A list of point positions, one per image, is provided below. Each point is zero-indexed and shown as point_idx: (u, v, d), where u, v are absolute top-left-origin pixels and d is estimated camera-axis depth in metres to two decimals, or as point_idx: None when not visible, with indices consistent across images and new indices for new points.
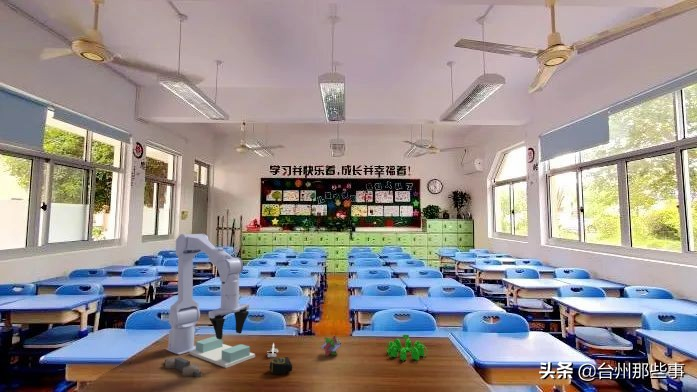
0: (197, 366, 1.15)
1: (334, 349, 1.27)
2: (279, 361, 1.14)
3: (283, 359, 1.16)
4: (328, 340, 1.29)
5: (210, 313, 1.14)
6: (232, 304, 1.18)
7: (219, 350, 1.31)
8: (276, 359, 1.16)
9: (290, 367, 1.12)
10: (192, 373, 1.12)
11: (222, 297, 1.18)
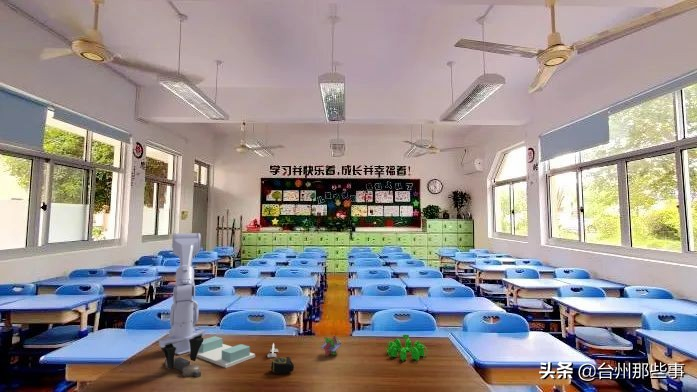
0: (197, 366, 1.15)
1: (334, 349, 1.27)
2: (280, 361, 1.14)
3: (284, 359, 1.16)
4: (328, 340, 1.29)
5: (160, 342, 1.12)
6: (185, 332, 1.16)
7: (219, 350, 1.31)
8: (277, 359, 1.16)
9: (291, 367, 1.12)
10: (192, 373, 1.12)
11: (174, 325, 1.16)
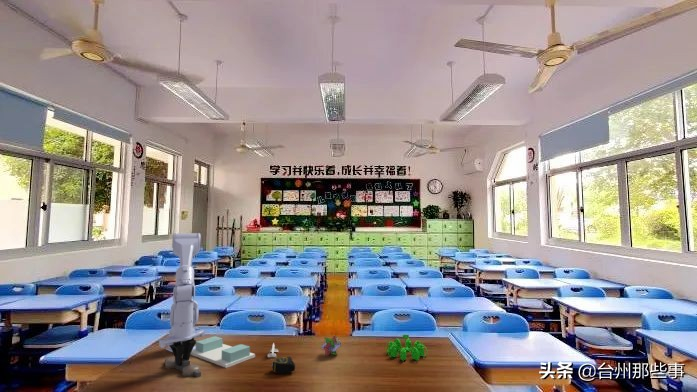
0: (197, 366, 1.15)
1: (334, 349, 1.27)
2: (281, 361, 1.14)
3: (286, 359, 1.16)
4: (328, 340, 1.29)
5: (160, 342, 1.12)
6: (185, 332, 1.16)
7: (219, 350, 1.31)
8: (279, 359, 1.16)
9: (293, 367, 1.13)
10: (192, 373, 1.12)
11: (174, 325, 1.16)
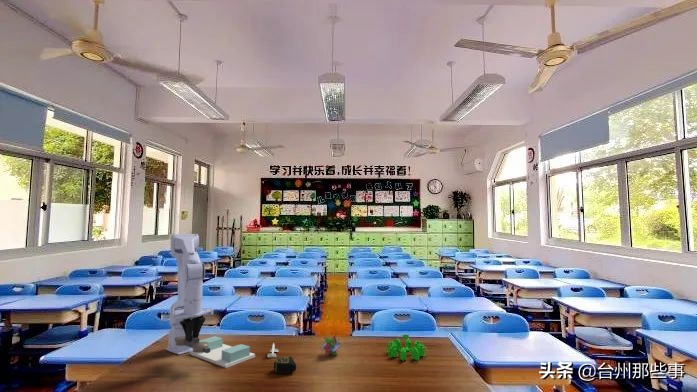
0: (206, 343, 1.18)
1: (334, 349, 1.27)
2: (283, 361, 1.14)
3: (287, 358, 1.16)
4: (328, 340, 1.29)
5: (171, 318, 1.15)
6: (194, 309, 1.19)
7: (219, 350, 1.31)
8: (280, 358, 1.16)
9: (294, 366, 1.13)
10: (202, 349, 1.15)
11: (184, 302, 1.19)
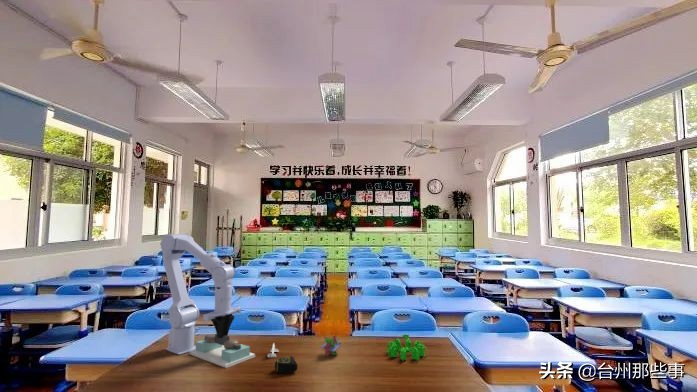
0: (236, 340, 1.27)
1: (334, 349, 1.27)
2: (284, 361, 1.14)
3: (288, 358, 1.16)
4: (328, 340, 1.29)
5: (204, 316, 1.24)
6: (225, 307, 1.28)
7: (219, 350, 1.31)
8: (281, 358, 1.16)
9: (295, 366, 1.13)
10: (233, 346, 1.24)
11: (216, 301, 1.28)
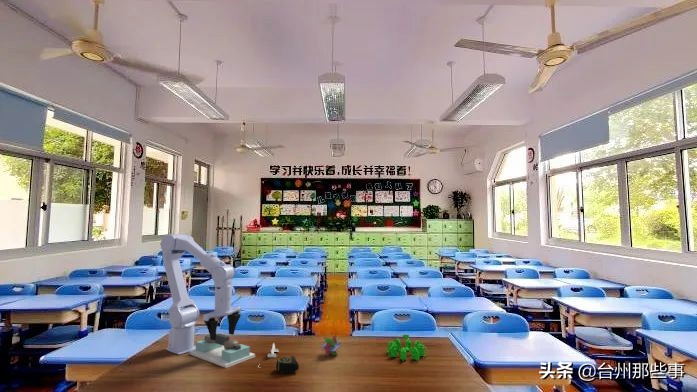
0: (236, 341, 1.27)
1: (334, 349, 1.27)
2: (285, 360, 1.14)
3: (289, 358, 1.17)
4: (328, 340, 1.29)
5: (204, 316, 1.24)
6: (225, 307, 1.28)
7: (219, 350, 1.31)
8: (282, 358, 1.16)
9: (296, 366, 1.13)
10: (233, 346, 1.24)
11: (216, 301, 1.28)
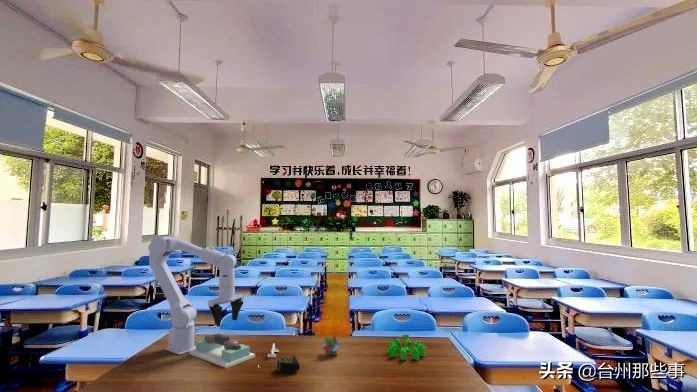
0: (236, 341, 1.27)
1: (334, 349, 1.27)
2: (286, 360, 1.15)
3: (290, 358, 1.17)
4: (328, 340, 1.29)
5: (209, 302, 1.31)
6: (229, 294, 1.35)
7: (219, 350, 1.31)
8: (283, 358, 1.16)
9: (297, 366, 1.13)
10: (233, 346, 1.24)
11: (220, 288, 1.36)
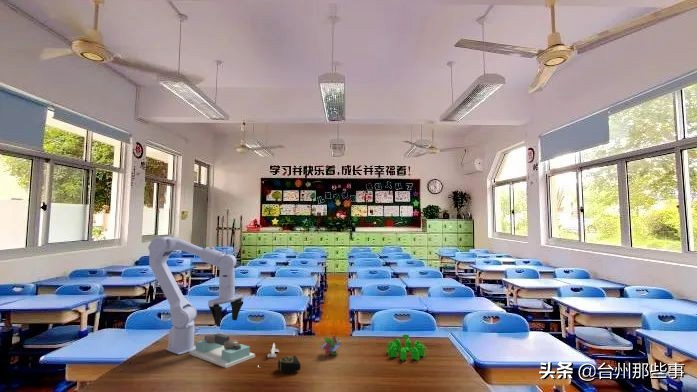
0: (236, 341, 1.27)
1: (334, 349, 1.27)
2: (287, 360, 1.15)
3: (291, 358, 1.17)
4: (328, 340, 1.29)
5: (209, 302, 1.31)
6: (229, 294, 1.35)
7: (219, 350, 1.31)
8: (284, 358, 1.17)
9: (298, 366, 1.13)
10: (233, 346, 1.24)
11: (220, 288, 1.36)
